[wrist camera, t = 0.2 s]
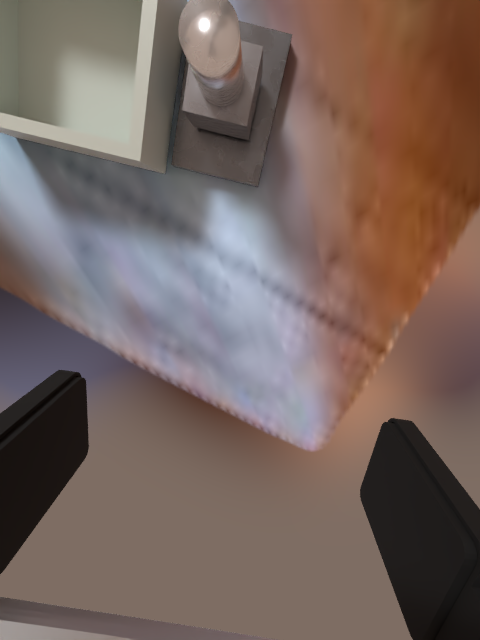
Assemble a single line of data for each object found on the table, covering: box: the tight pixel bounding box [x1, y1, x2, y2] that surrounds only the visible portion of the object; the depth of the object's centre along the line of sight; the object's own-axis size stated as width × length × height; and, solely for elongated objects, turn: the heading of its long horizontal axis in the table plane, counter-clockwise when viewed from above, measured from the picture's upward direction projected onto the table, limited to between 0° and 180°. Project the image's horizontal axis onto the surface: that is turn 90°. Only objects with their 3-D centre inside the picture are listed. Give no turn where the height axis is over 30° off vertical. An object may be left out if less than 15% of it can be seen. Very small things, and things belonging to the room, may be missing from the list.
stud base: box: [171, 21, 292, 187], centre depth 30 cm, size 14×10×6 cm
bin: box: [0, 0, 188, 174], centre depth 29 cm, size 16×18×8 cm
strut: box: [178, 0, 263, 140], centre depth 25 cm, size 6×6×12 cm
